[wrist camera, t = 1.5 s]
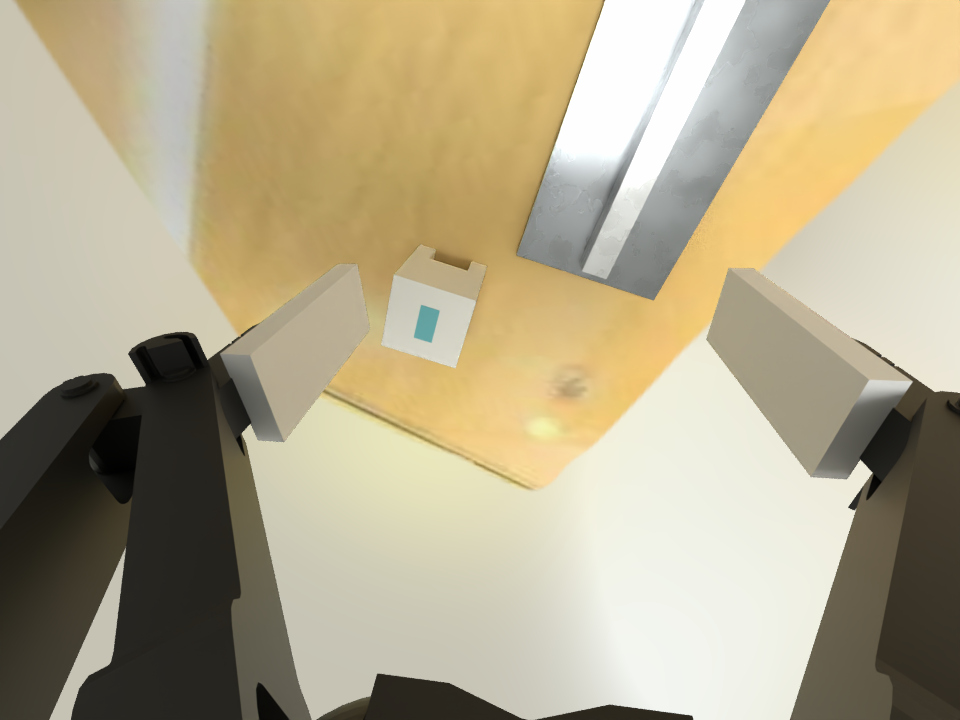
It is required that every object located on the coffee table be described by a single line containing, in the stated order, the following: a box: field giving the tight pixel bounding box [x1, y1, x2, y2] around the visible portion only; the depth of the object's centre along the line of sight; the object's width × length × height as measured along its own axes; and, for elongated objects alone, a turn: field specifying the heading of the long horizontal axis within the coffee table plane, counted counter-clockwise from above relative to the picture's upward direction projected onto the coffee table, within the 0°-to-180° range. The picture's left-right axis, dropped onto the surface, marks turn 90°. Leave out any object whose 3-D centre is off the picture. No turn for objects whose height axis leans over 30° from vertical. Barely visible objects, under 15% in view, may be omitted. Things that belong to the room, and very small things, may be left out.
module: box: [381, 244, 487, 368], centre depth 32 cm, size 6×6×8 cm
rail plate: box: [517, 0, 830, 300], centre depth 27 cm, size 12×20×3 cm, turn 163°
